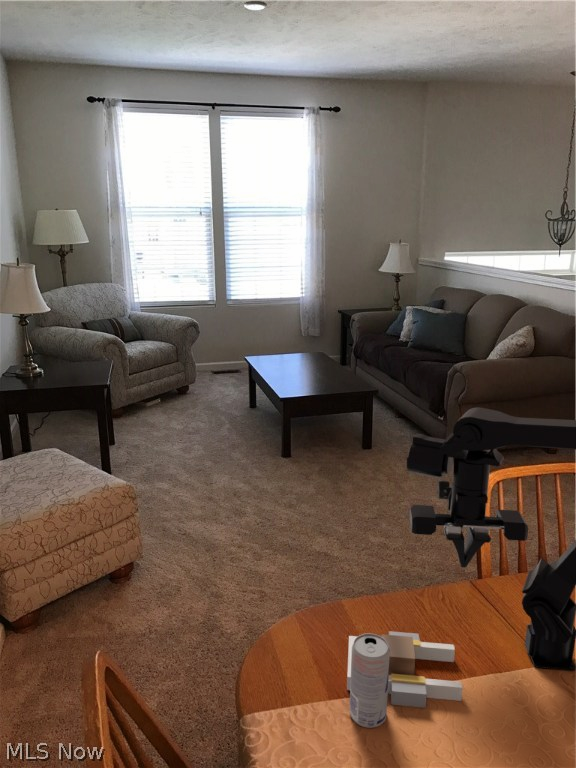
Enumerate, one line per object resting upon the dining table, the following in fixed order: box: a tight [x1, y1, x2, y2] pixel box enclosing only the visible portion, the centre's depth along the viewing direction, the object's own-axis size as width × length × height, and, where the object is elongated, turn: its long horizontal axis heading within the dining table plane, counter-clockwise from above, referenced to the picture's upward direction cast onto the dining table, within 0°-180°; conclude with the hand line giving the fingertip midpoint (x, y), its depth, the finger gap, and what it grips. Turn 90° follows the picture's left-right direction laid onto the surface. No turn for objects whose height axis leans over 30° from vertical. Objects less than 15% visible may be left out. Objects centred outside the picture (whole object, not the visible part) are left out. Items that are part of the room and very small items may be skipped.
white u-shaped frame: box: [346, 630, 464, 708], centre depth 94 cm, size 17×13×3 cm
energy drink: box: [349, 632, 390, 729], centre depth 85 cm, size 5×5×12 cm
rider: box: [380, 633, 416, 676], centre depth 94 cm, size 5×5×5 cm
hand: (462, 566), depth 102 cm, fingers closed
